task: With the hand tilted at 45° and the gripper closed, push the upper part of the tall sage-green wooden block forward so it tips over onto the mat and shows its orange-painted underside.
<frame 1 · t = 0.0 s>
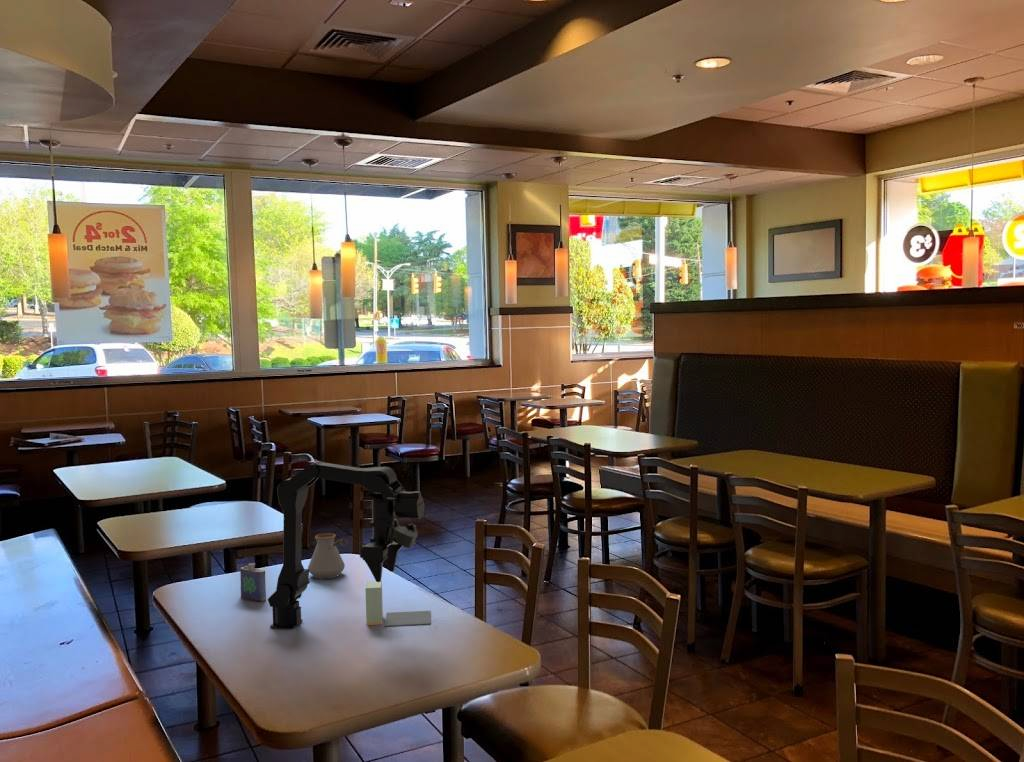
hand: (385, 576, 222), 15 cm above the table, tool pointing down, fingers open, 9 cm apart
mat: (408, 618, 232), on the table
block: (374, 620, 231), on the table
coffee pot: (332, 579, 269), on the table
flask: (253, 599, 251), on the table
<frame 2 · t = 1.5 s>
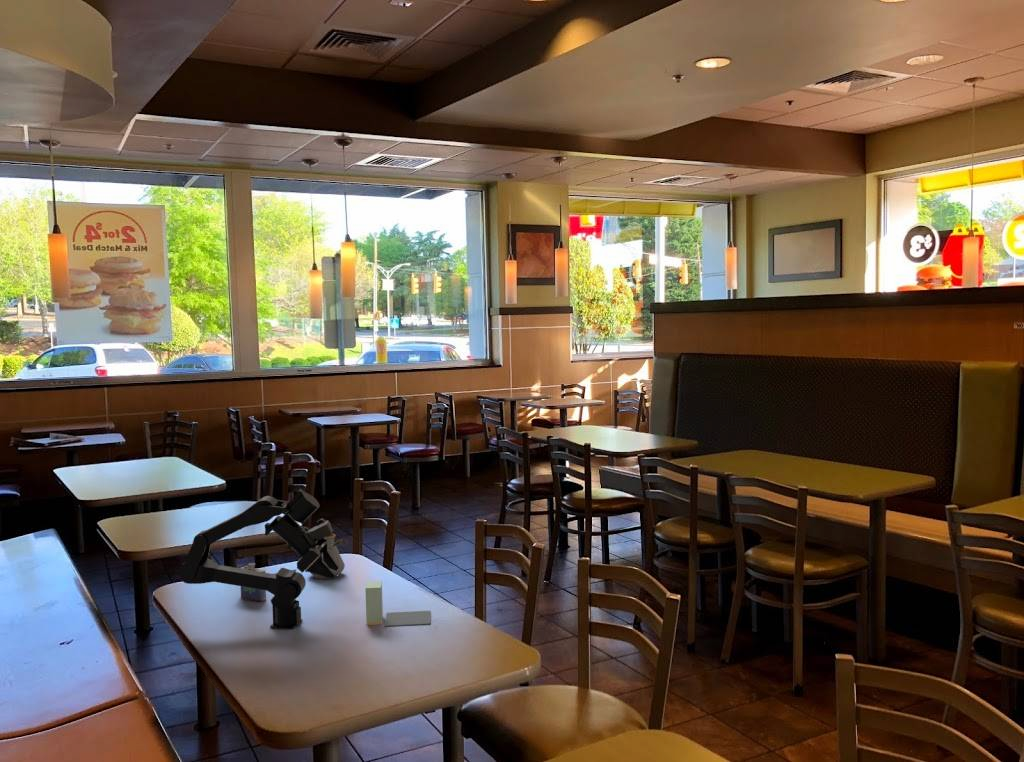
hand: (335, 573, 229), 13 cm above the table, tool tilted 45°, fingers open, 7 cm apart
nothing on the table moved.
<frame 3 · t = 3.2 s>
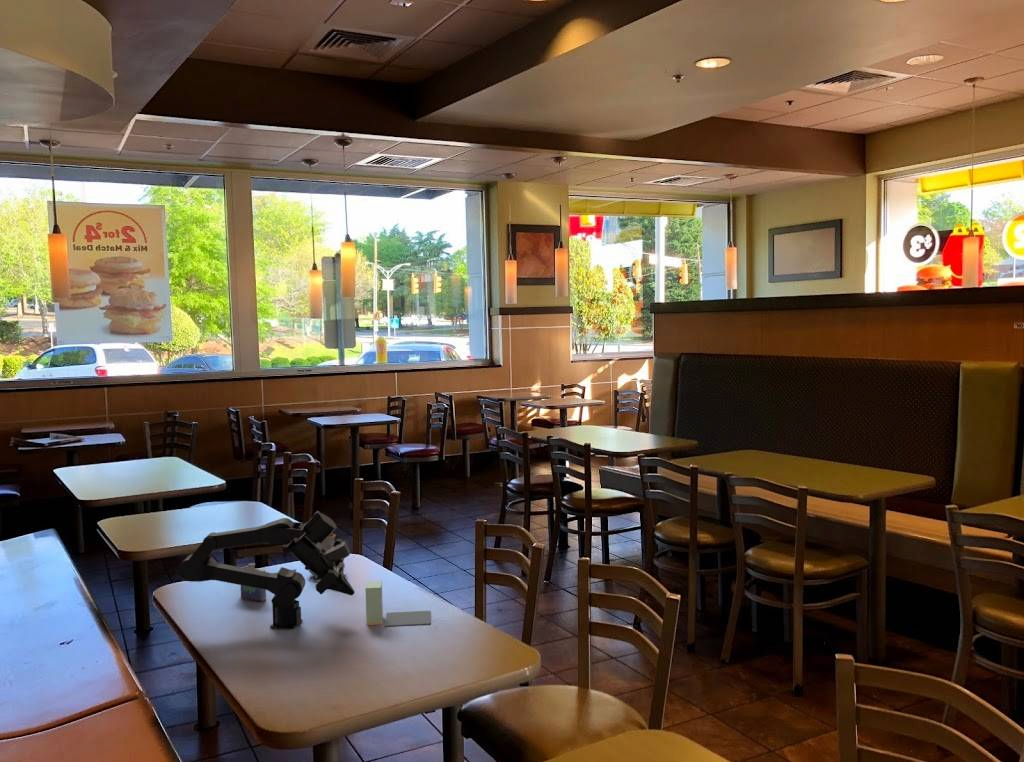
hand: (353, 593, 230), 8 cm above the table, tool tilted 45°, fingers closed
nothing on the table moved.
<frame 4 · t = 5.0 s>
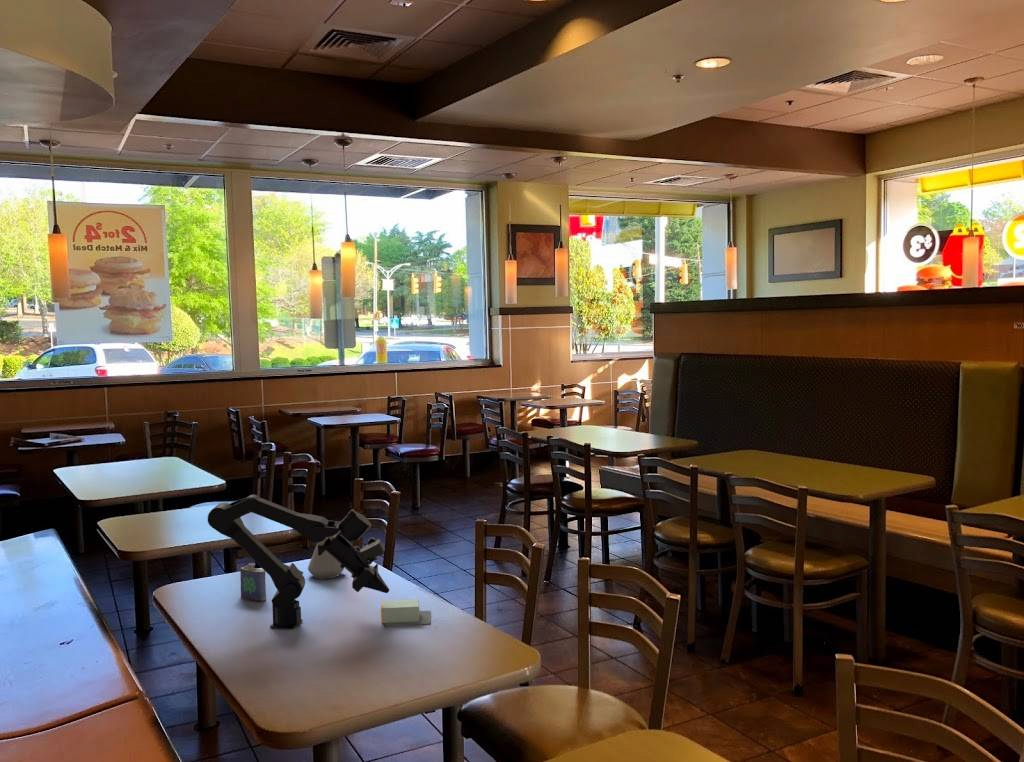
hand: (388, 591, 231), 8 cm above the table, tool tilted 45°, fingers closed
block: (381, 611, 231), point 2 cm above the table, tilted 90°, touching mat
everything else where it was.
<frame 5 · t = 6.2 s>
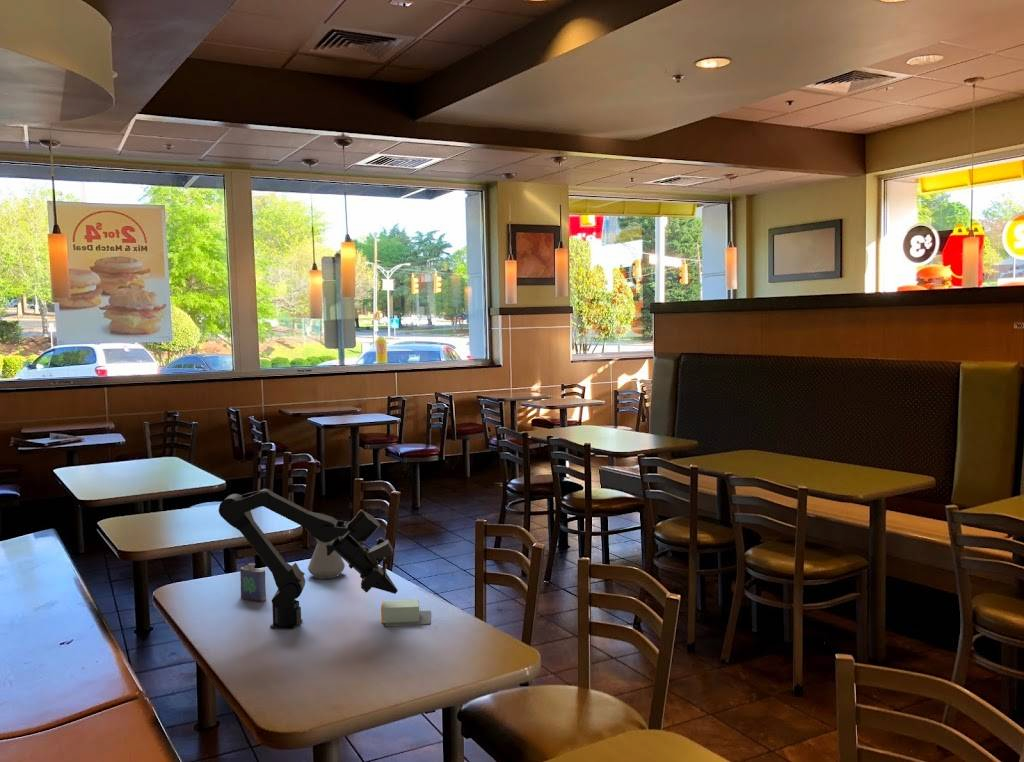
hand: (396, 592, 231), 8 cm above the table, tool tilted 45°, fingers closed
nothing on the table moved.
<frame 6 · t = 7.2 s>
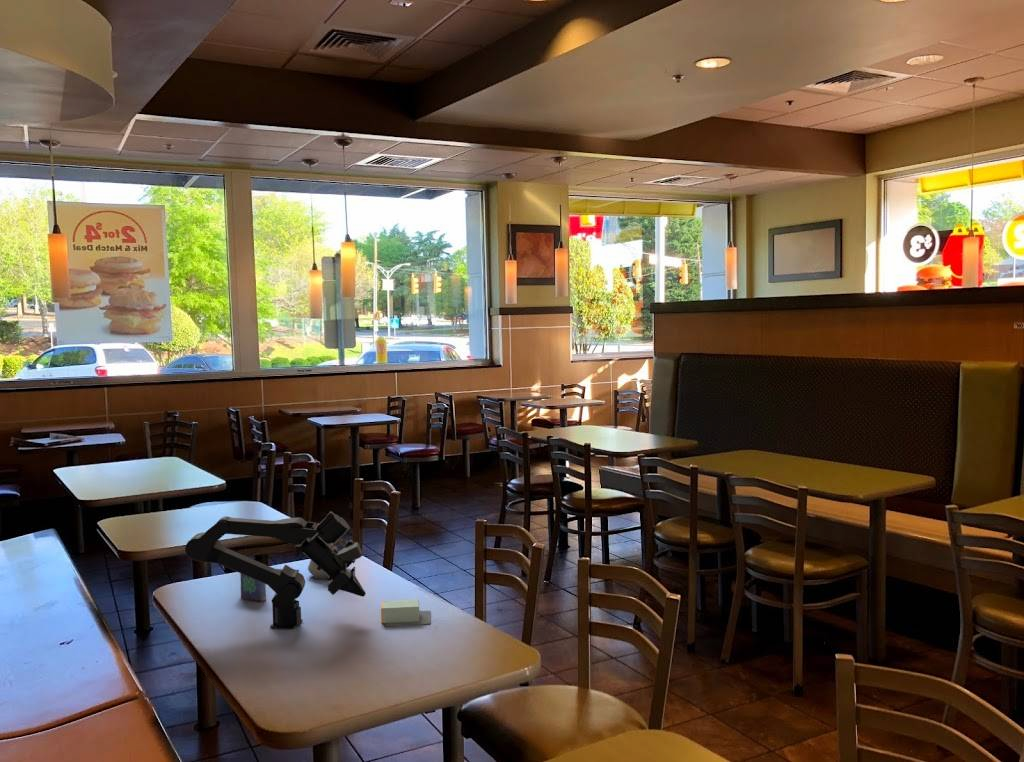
hand: (364, 595, 230), 7 cm above the table, tool tilted 45°, fingers closed
nothing on the table moved.
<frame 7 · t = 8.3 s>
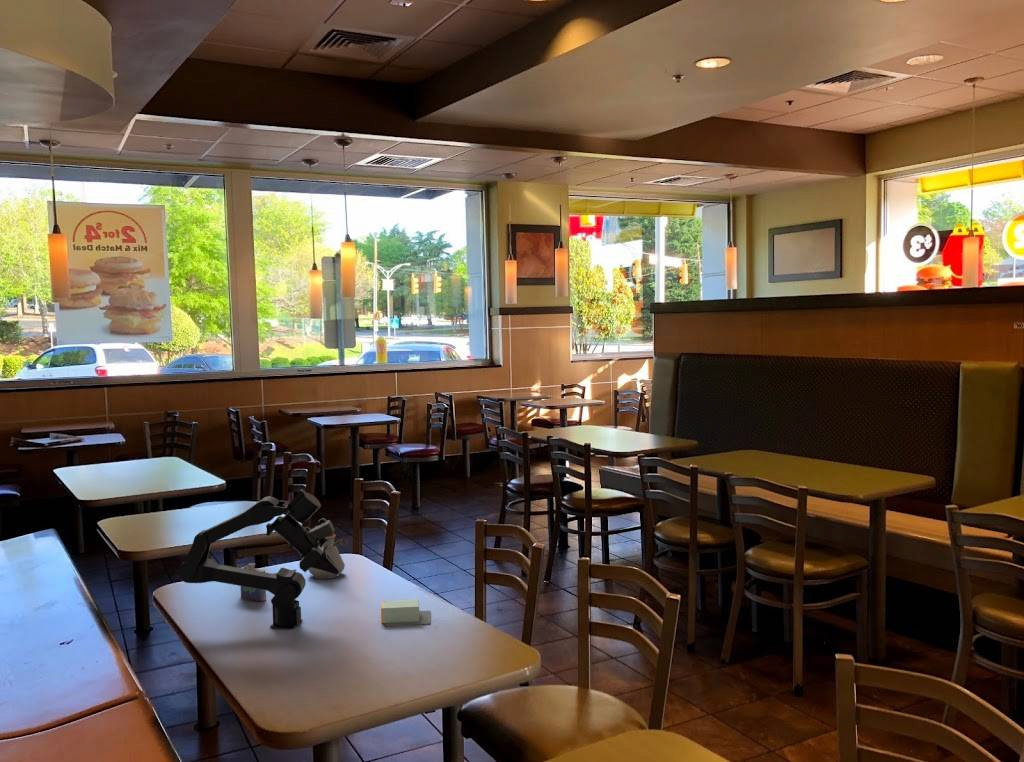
hand: (338, 572, 229), 14 cm above the table, tool tilted 45°, fingers closed
nothing on the table moved.
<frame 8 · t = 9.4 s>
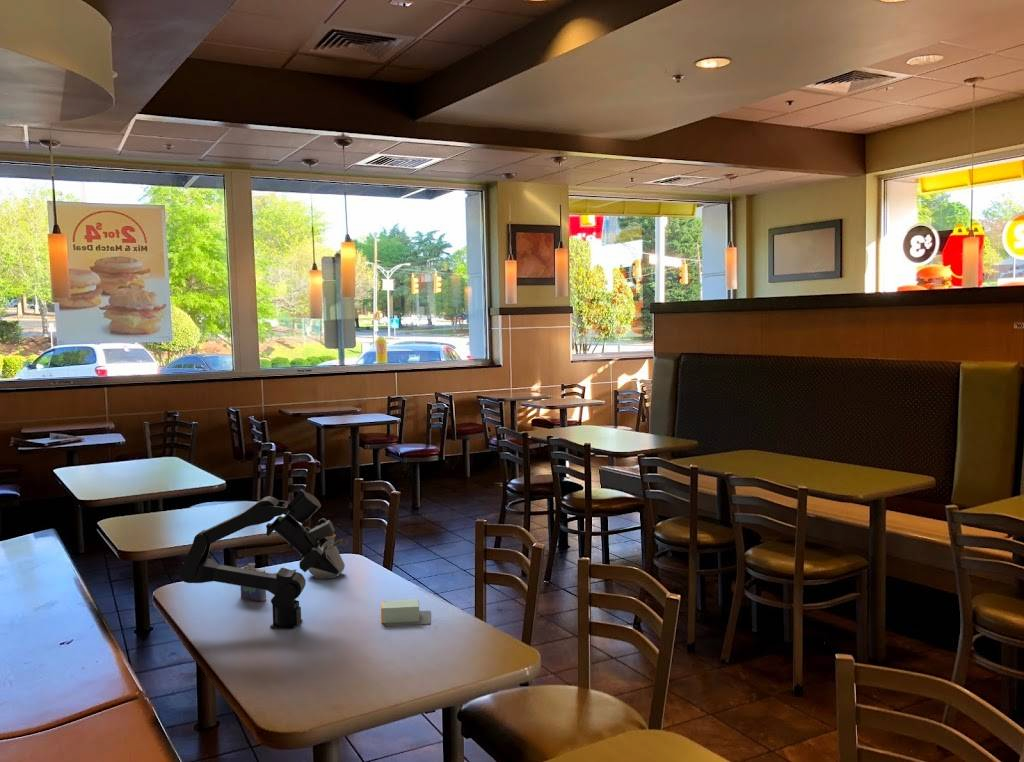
hand: (338, 572, 229), 14 cm above the table, tool tilted 45°, fingers closed
nothing on the table moved.
at the end: block tilted 90°; block inside the target area (1.2 cm from its centre), point 2.3 cm above the table; block touching mat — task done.
